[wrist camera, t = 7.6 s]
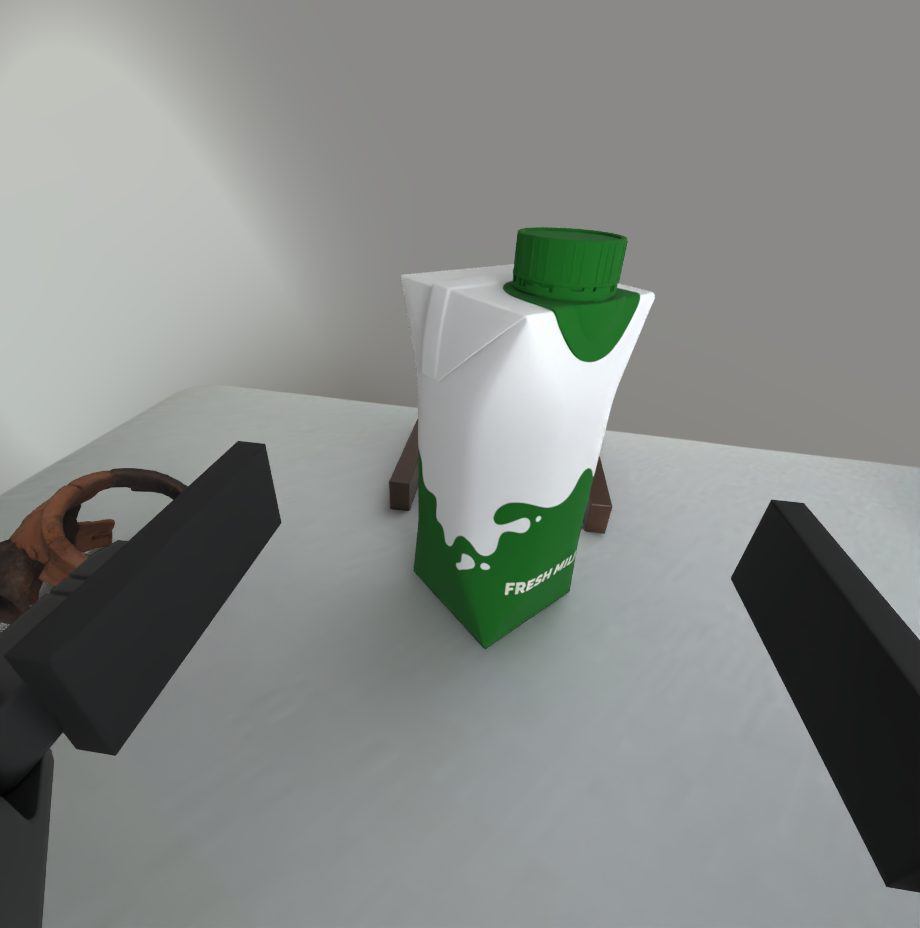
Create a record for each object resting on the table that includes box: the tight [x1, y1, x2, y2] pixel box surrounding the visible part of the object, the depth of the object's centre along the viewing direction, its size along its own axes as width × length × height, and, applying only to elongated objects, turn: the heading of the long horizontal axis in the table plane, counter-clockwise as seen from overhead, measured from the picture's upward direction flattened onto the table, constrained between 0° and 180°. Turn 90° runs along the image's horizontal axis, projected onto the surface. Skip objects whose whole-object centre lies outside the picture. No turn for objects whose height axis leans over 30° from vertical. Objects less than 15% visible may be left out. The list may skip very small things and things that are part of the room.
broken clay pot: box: [0, 468, 188, 624], centre depth 25 cm, size 12×10×8 cm
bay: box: [389, 419, 612, 533], centre depth 39 cm, size 16×13×2 cm
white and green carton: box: [401, 227, 655, 649], centre depth 24 cm, size 9×9×20 cm
